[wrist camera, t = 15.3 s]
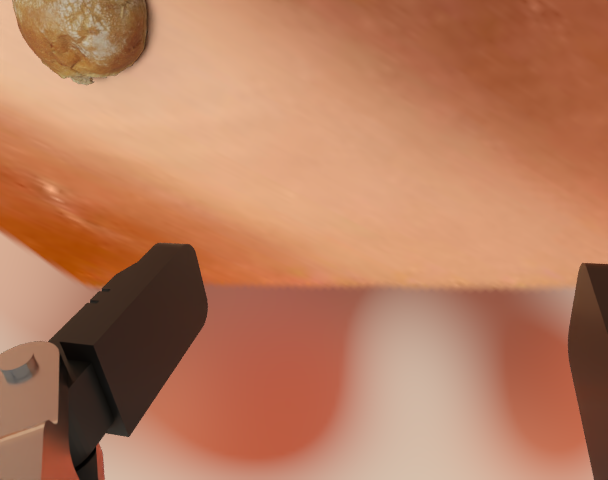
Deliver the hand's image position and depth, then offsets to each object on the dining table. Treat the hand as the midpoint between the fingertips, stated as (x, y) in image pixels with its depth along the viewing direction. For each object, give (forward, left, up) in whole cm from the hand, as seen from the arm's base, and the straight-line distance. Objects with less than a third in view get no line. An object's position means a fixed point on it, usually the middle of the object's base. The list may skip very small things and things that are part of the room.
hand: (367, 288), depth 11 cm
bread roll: (-3, -27, -30) cm, 41 cm away
